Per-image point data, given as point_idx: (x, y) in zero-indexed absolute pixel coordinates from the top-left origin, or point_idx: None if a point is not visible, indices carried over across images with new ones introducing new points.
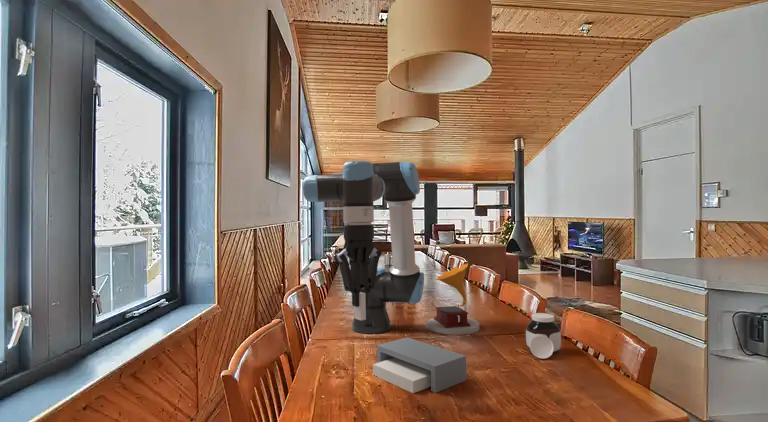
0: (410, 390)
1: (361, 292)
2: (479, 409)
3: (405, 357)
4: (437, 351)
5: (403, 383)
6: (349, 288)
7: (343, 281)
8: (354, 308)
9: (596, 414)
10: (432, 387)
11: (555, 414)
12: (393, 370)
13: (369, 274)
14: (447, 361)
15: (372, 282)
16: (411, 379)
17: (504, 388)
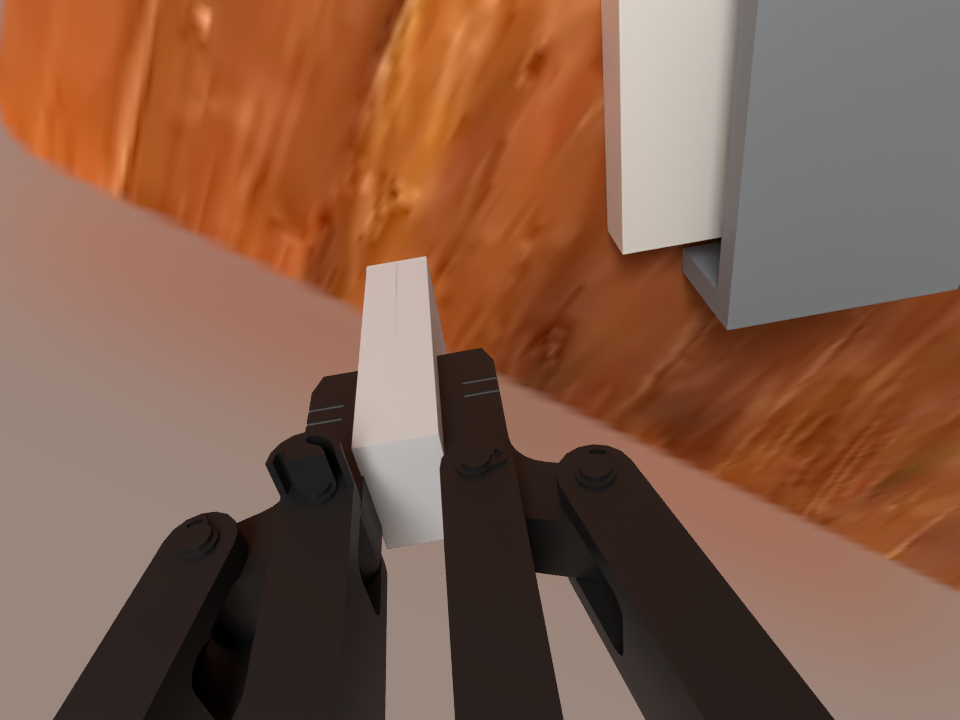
0: (609, 218)
1: (439, 492)
2: (688, 426)
3: (742, 112)
4: (937, 156)
5: (612, 178)
6: (202, 649)
7: (91, 678)
8: (362, 324)
9: (875, 547)
10: (688, 264)
11: (809, 516)
12: (645, 76)
13: (659, 694)
14: (824, 307)
15: (618, 619)
16: (631, 235)
17: (894, 357)
